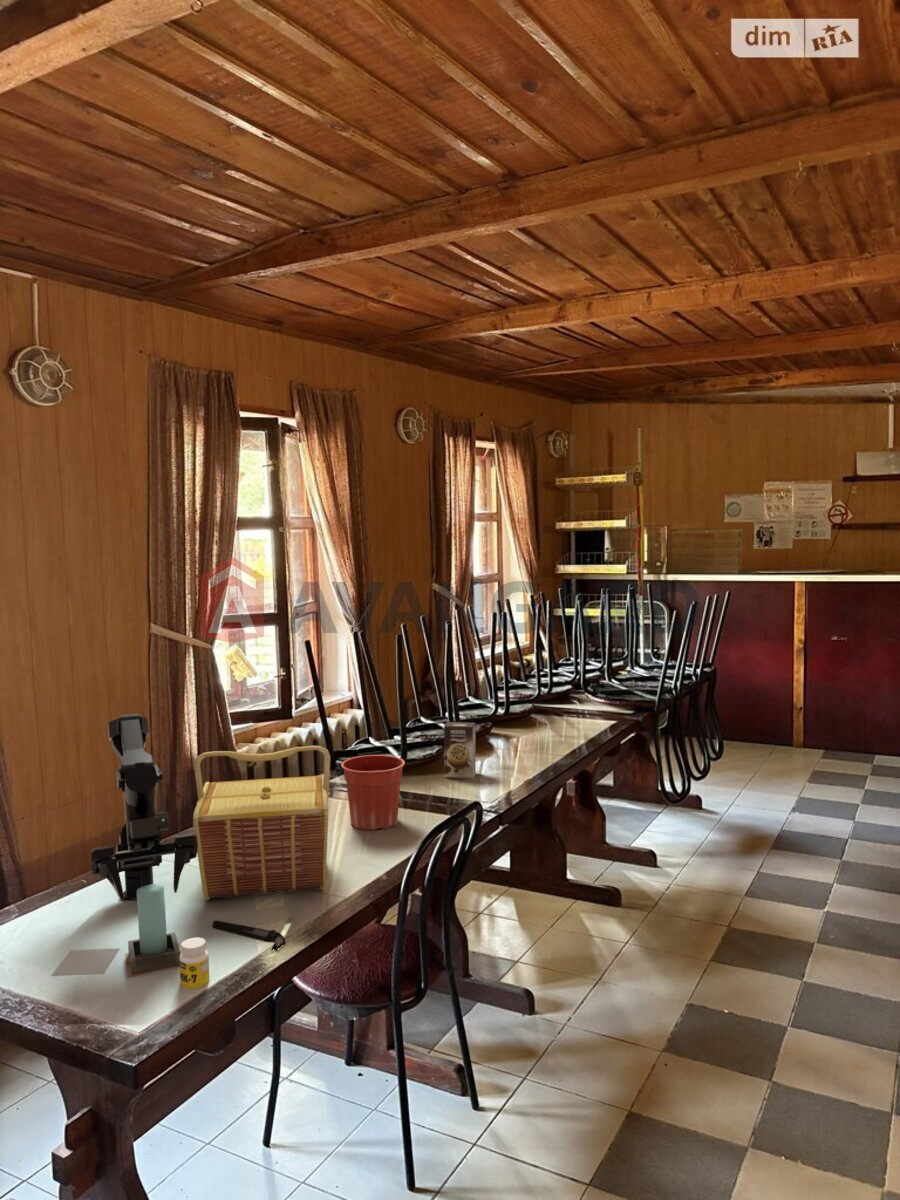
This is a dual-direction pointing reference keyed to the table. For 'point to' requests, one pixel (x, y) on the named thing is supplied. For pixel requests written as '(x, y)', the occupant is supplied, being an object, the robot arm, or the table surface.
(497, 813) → the table surface
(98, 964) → the pad
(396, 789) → the flower pot
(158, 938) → the peg
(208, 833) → the picnic basket
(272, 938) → the electric trimmer
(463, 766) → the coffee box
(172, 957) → the socket
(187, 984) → the supplement bottle
